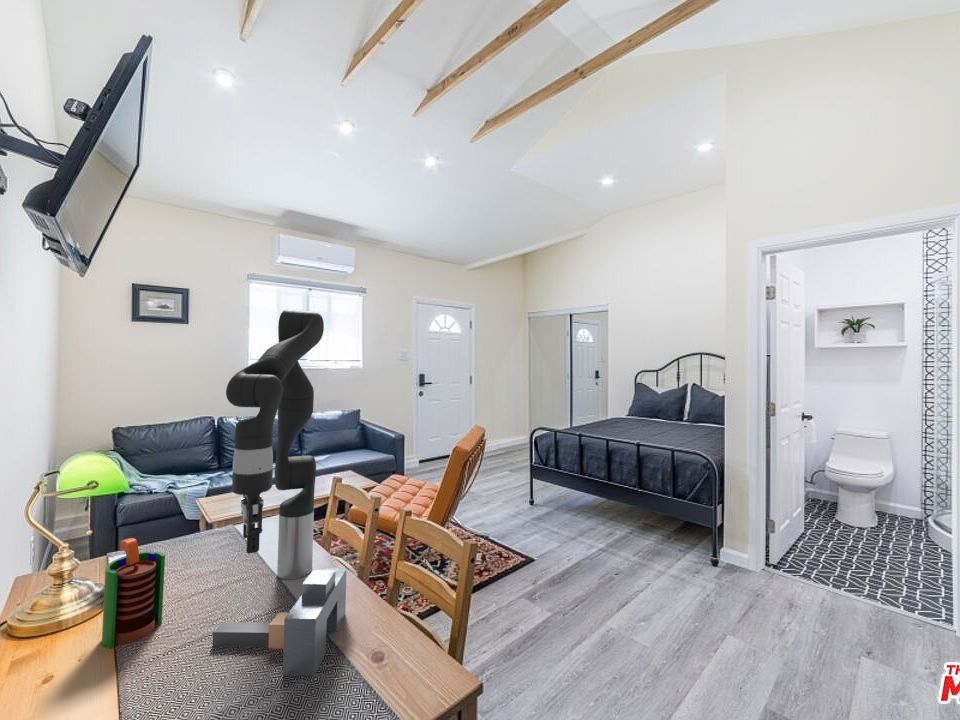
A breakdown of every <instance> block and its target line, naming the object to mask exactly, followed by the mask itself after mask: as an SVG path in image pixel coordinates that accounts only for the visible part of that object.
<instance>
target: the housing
mask: <svg viewBox="0 0 960 720" xmlns="http://www.w3.org/2000/svg"><path fill="white" fill-rule="evenodd" d="M347 570H348V569H347V568H332V567H331V568H327V567H325V568H323V567H322V568H321V569H312V571H311V572H310V573H309V574H308V575H307V577H306V578H305V580H304V581H303V583H302V584H301V595H300V596H299V598H298V599H297V601H296V602H295V603H294V604H293V606H292V608H291V609H290V610H289V613H288V614H287V616H286V617H285V619H284V649H283V655H282V657H283V658H282V677H314V676H316V673H317V671H318V669H319V667H320V666H321V664H322V661H323V660H324V658H325V655H326V651H327V632H332V633H334V632H336V633H337V632H338V630H339V628H340V626H341V624H342V622H343V620H344V618H345V616H346V604H347V603H346V601H347V599H346V597H347Z"/></svg>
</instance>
